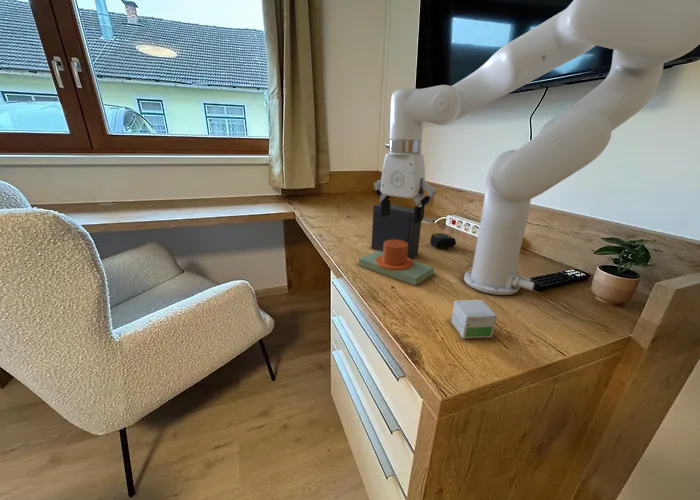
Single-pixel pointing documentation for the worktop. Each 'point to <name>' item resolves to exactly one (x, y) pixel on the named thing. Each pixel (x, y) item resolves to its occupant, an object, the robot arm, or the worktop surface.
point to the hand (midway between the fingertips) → (401, 218)
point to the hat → (395, 256)
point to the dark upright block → (396, 228)
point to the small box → (473, 319)
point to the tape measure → (442, 240)
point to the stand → (409, 275)
